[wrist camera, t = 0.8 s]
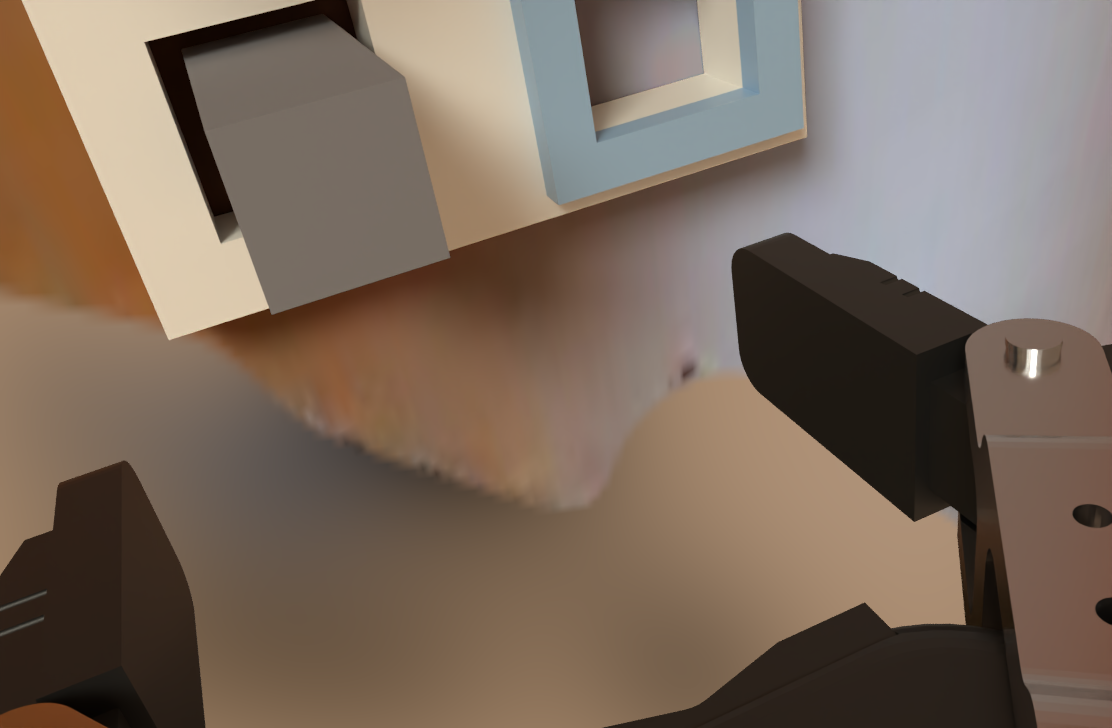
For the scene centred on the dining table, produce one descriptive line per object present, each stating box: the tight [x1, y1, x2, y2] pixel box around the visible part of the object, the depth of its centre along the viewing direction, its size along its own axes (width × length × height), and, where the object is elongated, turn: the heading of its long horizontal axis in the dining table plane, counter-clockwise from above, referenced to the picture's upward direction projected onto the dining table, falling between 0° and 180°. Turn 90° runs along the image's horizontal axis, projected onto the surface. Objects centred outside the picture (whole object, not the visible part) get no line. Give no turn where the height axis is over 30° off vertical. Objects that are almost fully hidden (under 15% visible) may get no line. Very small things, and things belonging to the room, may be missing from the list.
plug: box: [181, 14, 450, 315], centre depth 24 cm, size 4×4×10 cm
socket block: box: [22, 0, 807, 340], centre depth 28 cm, size 21×10×4 cm, turn 102°
